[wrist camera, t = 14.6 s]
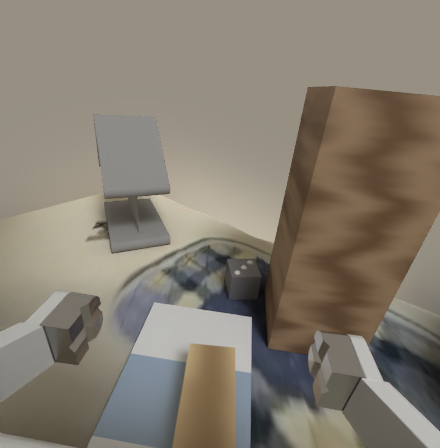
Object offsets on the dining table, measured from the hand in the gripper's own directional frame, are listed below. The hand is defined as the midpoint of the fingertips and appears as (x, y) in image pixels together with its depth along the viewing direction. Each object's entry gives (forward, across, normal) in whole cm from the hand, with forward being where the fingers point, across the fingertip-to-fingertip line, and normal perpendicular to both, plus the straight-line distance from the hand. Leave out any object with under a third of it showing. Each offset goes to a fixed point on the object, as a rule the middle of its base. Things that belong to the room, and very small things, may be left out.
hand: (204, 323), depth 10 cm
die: (+22, -2, +18) cm, 28 cm away
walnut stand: (+18, -11, +18) cm, 28 cm away
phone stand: (+36, +19, +18) cm, 45 cm away
